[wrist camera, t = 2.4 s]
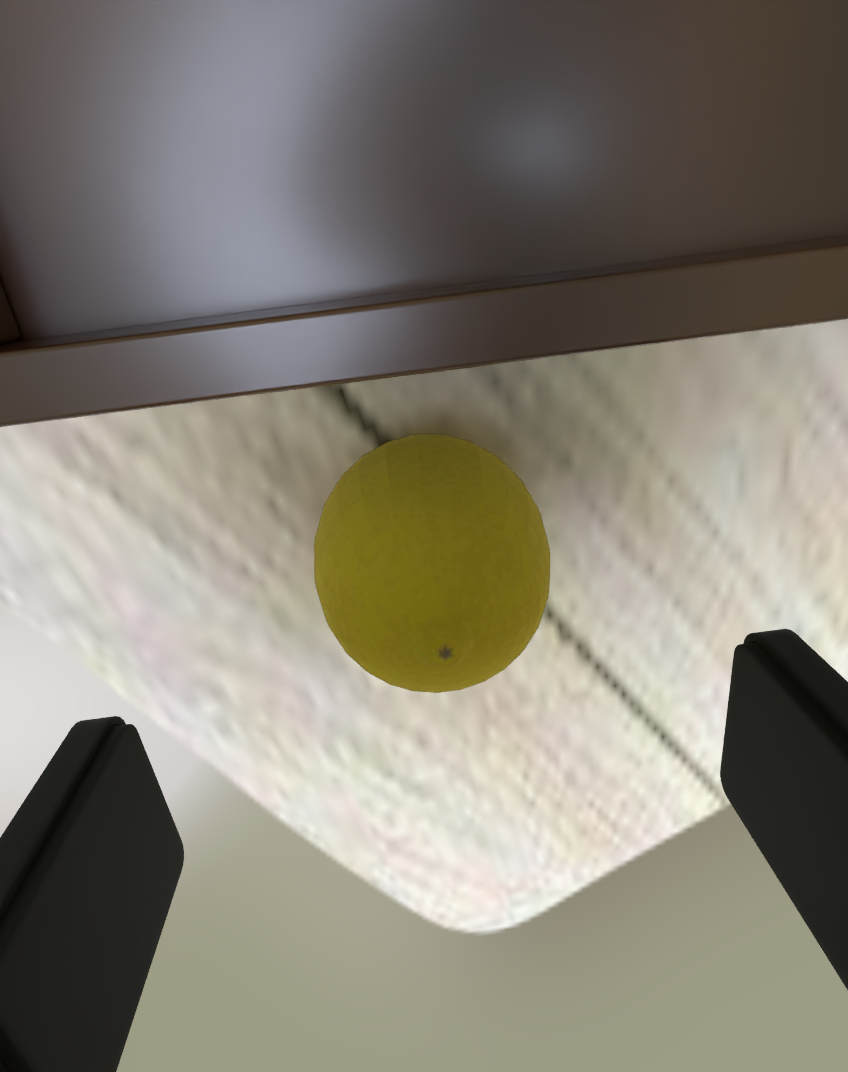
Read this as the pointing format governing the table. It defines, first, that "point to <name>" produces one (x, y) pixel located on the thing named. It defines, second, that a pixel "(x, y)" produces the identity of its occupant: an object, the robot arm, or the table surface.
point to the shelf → (403, 187)
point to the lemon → (432, 563)
